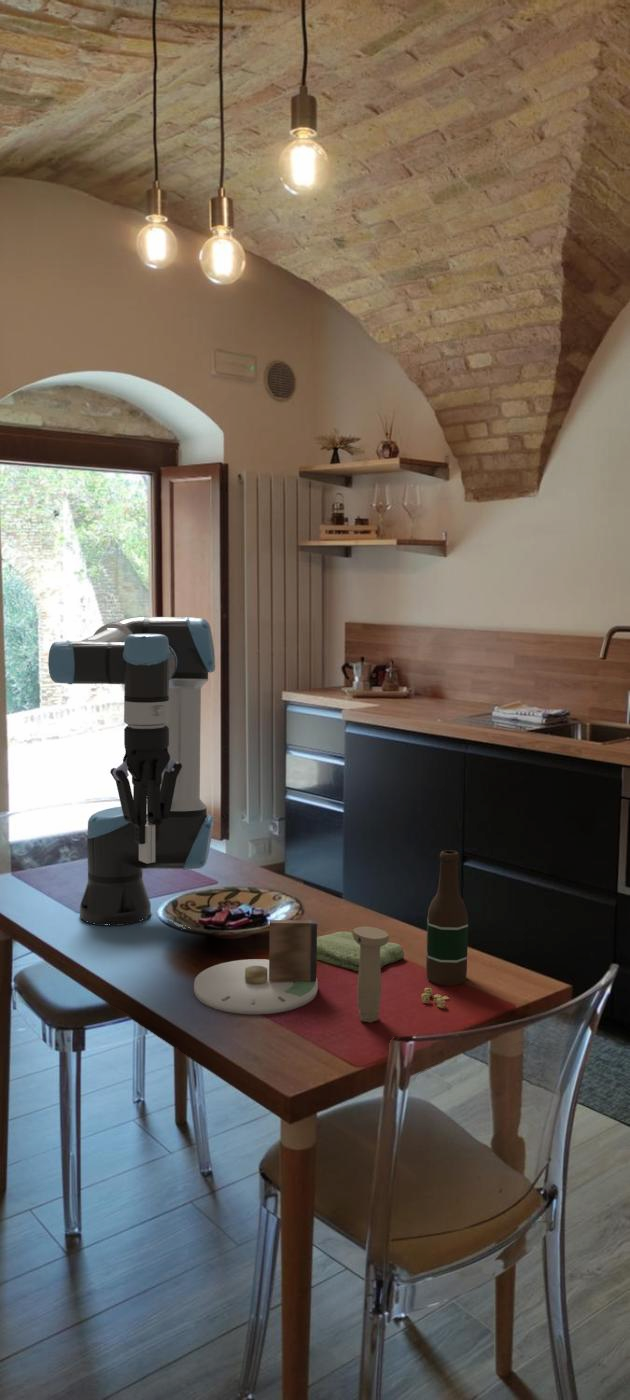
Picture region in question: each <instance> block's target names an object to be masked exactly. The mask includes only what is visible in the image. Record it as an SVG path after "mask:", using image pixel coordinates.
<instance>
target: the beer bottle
mask: <svg viewBox="0 0 630 1400" xmlns="http://www.w3.org/2000/svg"><path fill="white" fill-rule="evenodd" d="M439 859H440V866H439V867H440V868H439V881H438V888H437V891H436V894H435V896H434V897H433V898H432V899H431V901H430V904H429V906H428V910H427V911H428V912H427V918H426V919H427V923H426V954H425V955H426V957H425V958H426V959H425V960H426V962H425V966H426V969H425V970H426V977H427V981H428V982H430V981H431V982H430V983H432V982H433V983H432V984H435V983H436V984H435V985H438V984H439V985H438V986H442V985H456V986H459V985H461V984H464V983H465V982H466V981H467V973H468V946H469V945H468V942H469V914H468V910H467V908H466V907H467V906H466V904H465V901H464V900H463V899H462V896H461V894H460V885H459V884H460V883H459V880H460V879H459V860H460V859H461V858H460V854H459V852H458V851H456V850H452V849H449V850H448V849H447V850H446V849H445V850H442V851H441V852H440V853H439ZM463 982H464V983H463ZM458 984H459V985H458Z"/></svg>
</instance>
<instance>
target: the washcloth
mask: <svg viewBox="0 0 630 1400" xmlns="http://www.w3.org/2000/svg"><path fill="white" fill-rule="evenodd" d="M404 957H405V951H404V949H403V947H402V945H400V944H398V943H395V942H389V941H388V943H387V944H385V945H384V946H381V947H380V968H382V969H383V967H384V966H385V965H388V964H393V963H396V962H398V961H401V960H402V959H403V958H404ZM317 961H321V962H323V963H327V964H330V965H335V966H338V967H341V968H344V969H349V970H351V969H352V970H351V971H355V972H359V963H360V945H359V944H358V943H357V942H356V941H355V940H354V938H353V932H349V931H337V932H334V933H330V934H325V935H320V936H317Z"/></svg>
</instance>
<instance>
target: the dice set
mask: <svg viewBox="0 0 630 1400" xmlns="http://www.w3.org/2000/svg"><path fill="white" fill-rule="evenodd" d="M433 990H434V989H433V988H431V987H426V988H424V990H423V992H424V993H421V997H420V998H421V999H420V1000H421V1001H422V1002H425V1003H427V1002H429V1003H430V998H429V997H431V996H432V999H433V998H434V999H433V1003H434V1002H436V1003H437V1004H436V1007H437V1006H438V1007H445V1008H446V1001H445V999H449V1000H450V998H449V997H448V996H447V995H445V996H442V995H441V994H438V993H437V994H435V995H433Z"/></svg>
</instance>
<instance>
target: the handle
mask: <svg viewBox="0 0 630 1400" xmlns="http://www.w3.org/2000/svg"><path fill="white" fill-rule="evenodd" d="M352 933H353V938H354V940H355V941H356V942H357V943H358V944H359V945H360V963H359V971H358V976H357V977H358V978H357V1006H358V1015H359V1016H358V1017H359V1019H360V1021H361V1022H362V1023H365V1022H366V1023H370V1024H371V1023H373V1022H377V1021H378V1019H379V1013H378V1012H379V1010H380V1006H381V998H382V973H381V972H382V971H381V970H382V969H381V968H380V947H381V946H384V945H385V944H387V943H388V942H389V937H390V935H389V934H388V932H387V931H385V930H383V929H382V928H381V929H380V928H378V927H374V926H367V925H366V926H359V927H355V928H353V929H352Z"/></svg>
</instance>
